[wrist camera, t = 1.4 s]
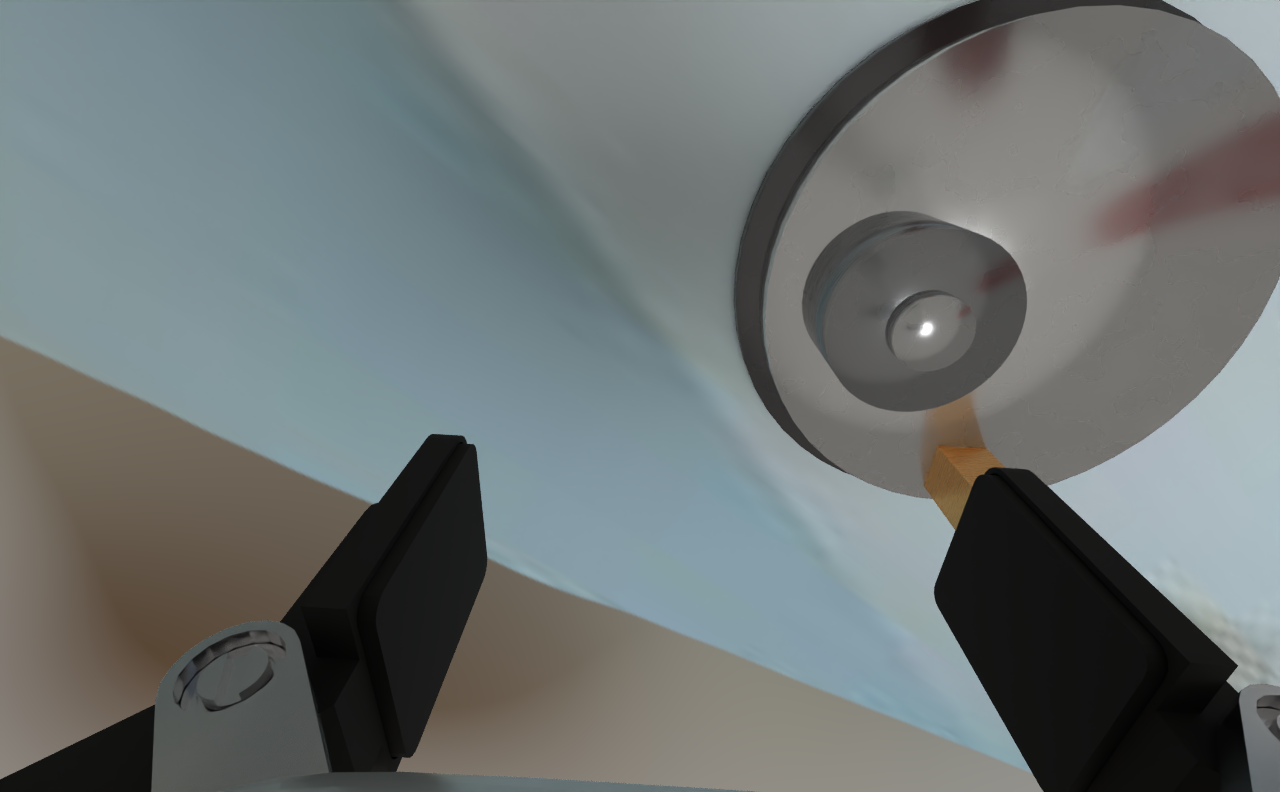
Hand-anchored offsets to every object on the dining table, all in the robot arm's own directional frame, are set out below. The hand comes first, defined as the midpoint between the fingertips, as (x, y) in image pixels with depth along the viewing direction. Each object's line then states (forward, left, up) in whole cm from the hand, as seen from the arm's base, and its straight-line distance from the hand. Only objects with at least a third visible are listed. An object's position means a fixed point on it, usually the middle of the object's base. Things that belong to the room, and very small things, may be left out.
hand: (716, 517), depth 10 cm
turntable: (0, +14, -17) cm, 22 cm away
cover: (0, +9, -15) cm, 18 cm away
